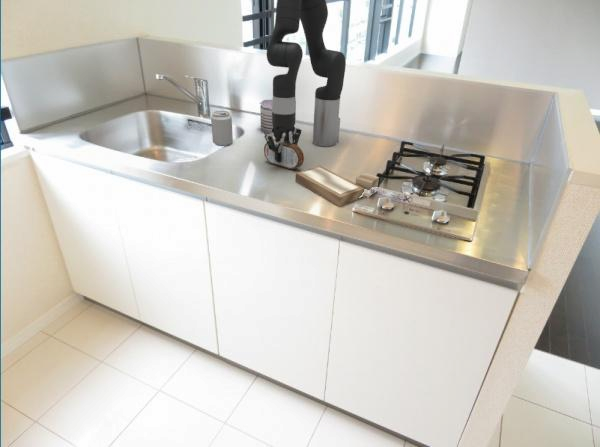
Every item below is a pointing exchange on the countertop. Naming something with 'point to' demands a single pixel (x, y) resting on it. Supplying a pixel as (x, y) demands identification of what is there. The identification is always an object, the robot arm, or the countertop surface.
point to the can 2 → (266, 116)
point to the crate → (367, 181)
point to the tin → (286, 156)
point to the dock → (329, 185)
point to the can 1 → (221, 128)
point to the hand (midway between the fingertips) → (283, 160)
